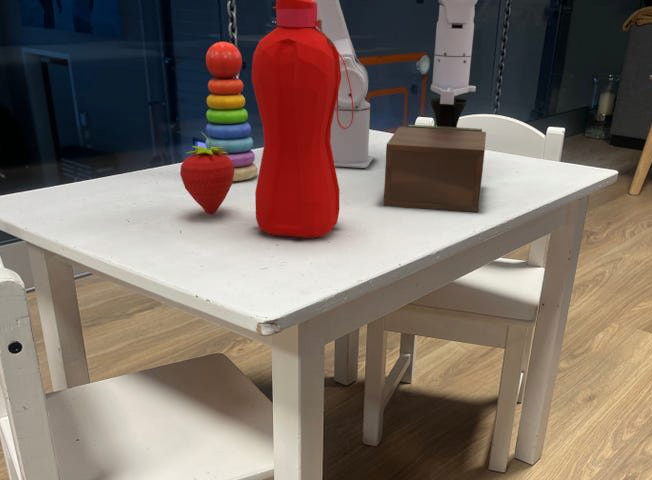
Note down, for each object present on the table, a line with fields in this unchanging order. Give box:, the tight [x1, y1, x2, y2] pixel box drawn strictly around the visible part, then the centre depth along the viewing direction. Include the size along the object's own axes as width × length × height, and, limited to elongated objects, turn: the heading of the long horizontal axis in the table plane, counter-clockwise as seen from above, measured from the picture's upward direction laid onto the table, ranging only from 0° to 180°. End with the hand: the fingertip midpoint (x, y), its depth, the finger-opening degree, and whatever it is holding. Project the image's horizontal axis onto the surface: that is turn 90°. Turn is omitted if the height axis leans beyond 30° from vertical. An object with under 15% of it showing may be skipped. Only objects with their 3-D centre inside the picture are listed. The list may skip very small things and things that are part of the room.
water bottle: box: [251, 0, 353, 239], centre depth 81 cm, size 9×11×25 cm
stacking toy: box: [205, 41, 258, 182], centre depth 105 cm, size 8×8×19 cm
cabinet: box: [383, 126, 487, 213], centre depth 100 cm, size 14×13×8 cm
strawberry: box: [179, 131, 235, 216], centre depth 89 cm, size 6×8×10 cm
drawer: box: [407, 124, 483, 132], centre depth 110 cm, size 17×11×6 cm
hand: (445, 144), depth 119 cm, fingers closed
